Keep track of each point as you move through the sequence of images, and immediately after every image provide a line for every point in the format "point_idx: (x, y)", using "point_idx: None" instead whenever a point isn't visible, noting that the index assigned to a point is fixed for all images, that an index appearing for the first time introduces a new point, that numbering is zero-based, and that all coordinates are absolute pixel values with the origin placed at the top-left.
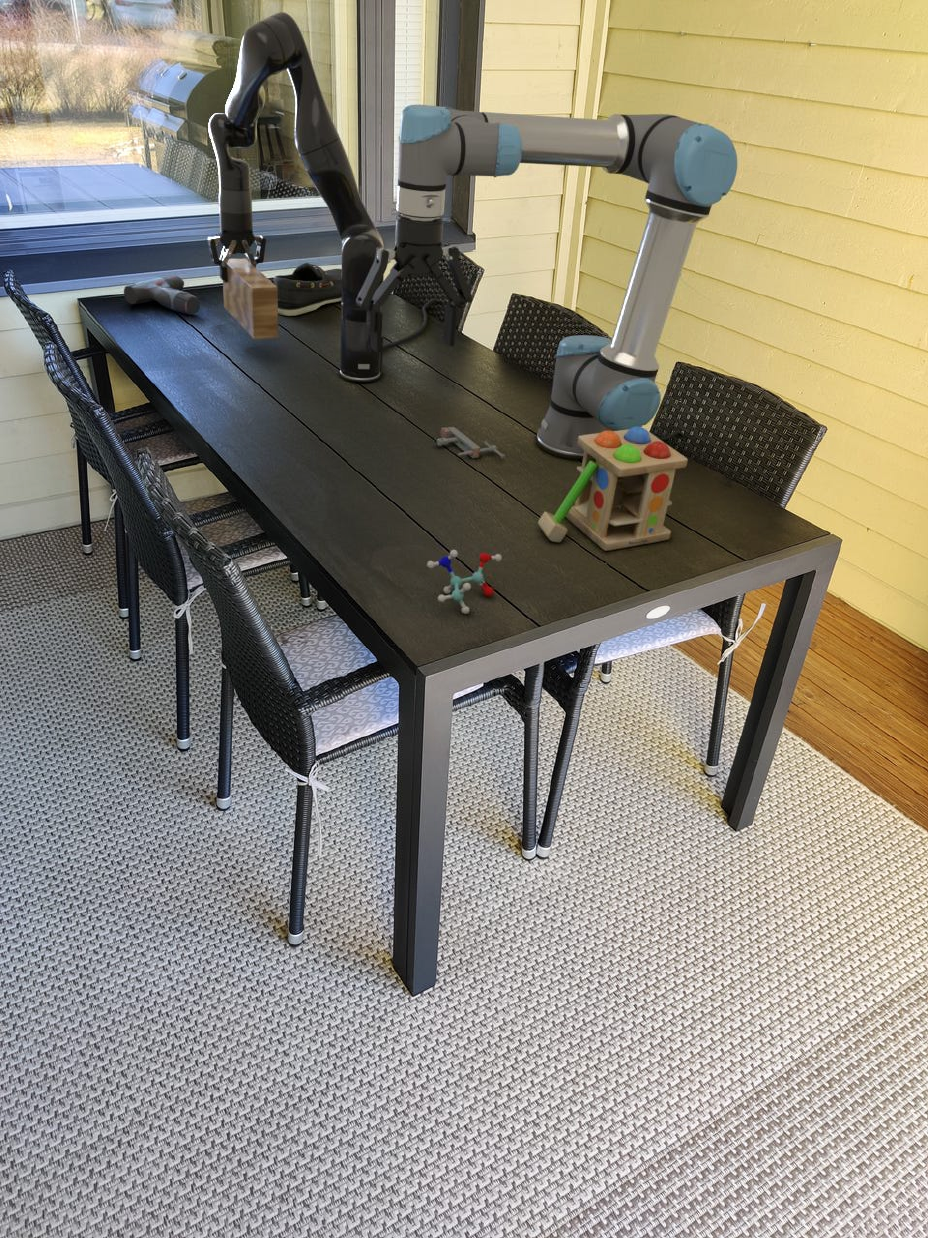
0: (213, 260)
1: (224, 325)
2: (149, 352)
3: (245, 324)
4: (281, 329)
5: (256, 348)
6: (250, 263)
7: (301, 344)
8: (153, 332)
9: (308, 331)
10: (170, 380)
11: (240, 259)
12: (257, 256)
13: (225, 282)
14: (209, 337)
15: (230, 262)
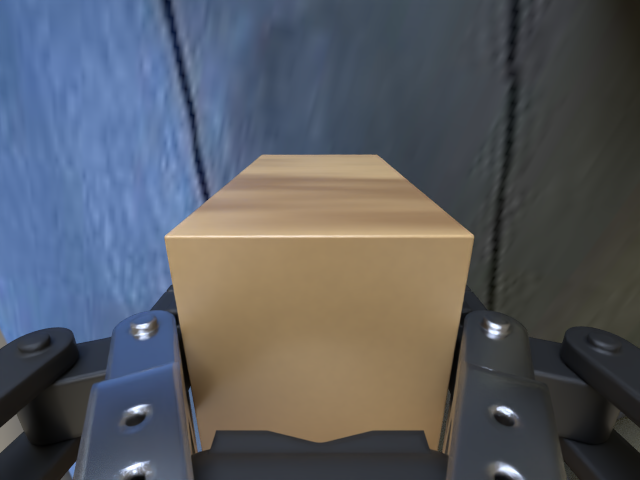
0: (25, 445)
1: (299, 31)
2: (18, 254)
3: None
4: (495, 135)
5: None
6: (435, 417)
7: (482, 290)
8: (12, 57)
9: (575, 180)
10: None
11: (390, 276)
12: (590, 393)
13: None
14: (215, 163)
15: (242, 365)
